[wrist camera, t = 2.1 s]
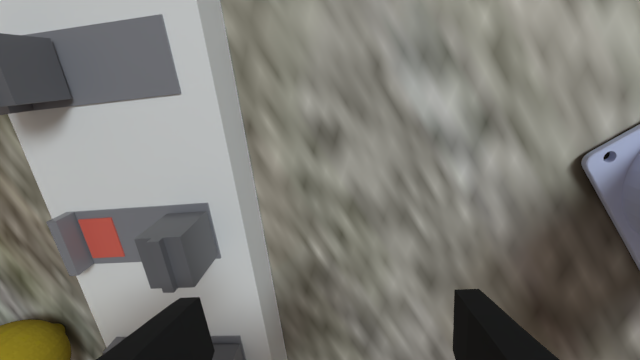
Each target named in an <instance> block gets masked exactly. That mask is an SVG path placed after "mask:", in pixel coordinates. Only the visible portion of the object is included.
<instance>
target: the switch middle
mask: <svg viewBox="0 0 640 360" xmlns="http://www.w3.org/2000/svg"><path fill="white" fill-rule="evenodd" d="M134 240H135V243H136V246H137V249H138V252H139V255H140V258H141V261H142V264H143V267H144V270H145V273H146V276H147V279H148V282H149V285H150V288H151V289H157V288H162V291H163V293H174V292H175V291H176V290H177V289H178V288H190V287H195V286H196V285H197V284H198V282H199V281H200V279H201V278H202V277H203V275H204V274H205V272H206V271H207V270H208V268H209V267H210V266H211V264H212V263H213V261H214V260H215V259H216V257H217V256H218V255H217V251H216V247H215V243H214V239H213V234H212V230H211V226H210V222H209V218H208V214H207V211H200V212H184V213H168V214H166V215H164V216H163V217H162V218H161V219H159V220H158V221H157V222H155V223H154V224H153V225H152V226H150V227H149V228H148V229H146V230H145V231H144V232H143V233H141V234H140V235H139V236H137V237H136V238H135V239H134Z"/></svg>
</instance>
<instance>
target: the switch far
mask: <svg viewBox="0 0 640 360" xmlns="http://www.w3.org/2000/svg"><path fill="white" fill-rule="evenodd" d="M213 346H214V350H215V352H214V355H213V358H212V360H243V356H242V352H241V348H240V344H213Z"/></svg>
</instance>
